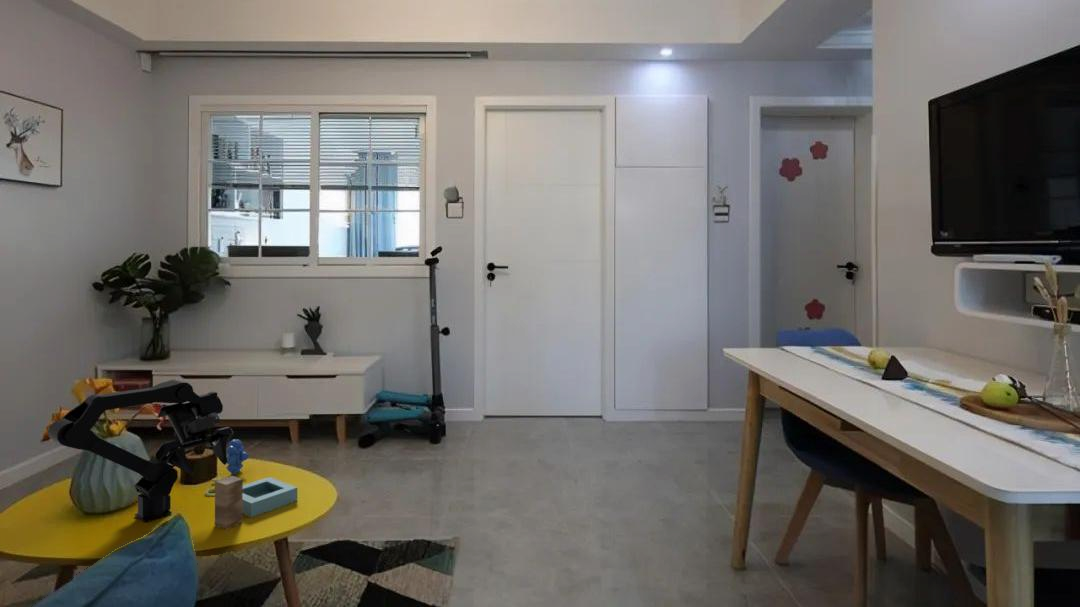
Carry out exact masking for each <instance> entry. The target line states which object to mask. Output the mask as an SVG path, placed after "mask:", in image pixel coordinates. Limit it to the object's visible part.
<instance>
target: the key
mask: <svg viewBox="0 0 1080 607" xmlns="http://www.w3.org/2000/svg"><path fill="white" fill-rule="evenodd" d="M220 479H223V476H218V477H215V478H212V479H211V482H212V483H213V482H215V481H217V480H220ZM214 491H215V487H213V488H209V489H207V490H205V493H204V495H205V497H210V496H213V497H215V492H214Z"/></svg>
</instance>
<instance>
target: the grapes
mask: <svg viewBox="0 0 1080 607" xmlns="http://www.w3.org/2000/svg"><path fill="white" fill-rule="evenodd" d="M226 454H227V464H226V465H227V466H226V467H225V468H226V470H227V471H228V472H229V473H230V474H231V475H237V474H238V473H239V472H240V470H241V469H242V468H243V467H244V465H243V462H244V461H247V459H248V458H249V457H250V455H249V454H248V452H246V451H245V447H244V445H243V442H242V441H241V440H240V439H238V438H237V439H232V440H231V441H230V442H228V447H226Z"/></svg>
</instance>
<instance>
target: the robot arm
mask: <svg viewBox="0 0 1080 607" xmlns="http://www.w3.org/2000/svg"><path fill="white" fill-rule="evenodd" d="M154 403H160V404H161V403H162V405H161V408H160V409H159V412H158V413H157V418H162V417H163V418H164V417H166V416H167V418H168V421H169V422H170V424H171V426H172V428H173V429H174V433H172V434H173V436H174V437H178V438H179V439H177V438H176V439H172V440H168V441H164V442H162V444H161V445H160V447H159V448H158V450H156V452H155V455H153V454H152V455H151V456H150V458H149V459H147V458H146V459H145V458H142V457H141V456H138V455H136V454H134V453H132V452H130V451H128V450H126V449H124V448H121V447H119V446H118V445H116V444H113V443H111V442H109V441H106V440H104V439H102V438H101V437H100V436H98V435H97V434H96V433H95V432H94V431H93V430H91V429H93V427H94V426H95V425H96V424H97V422H98V421H99V419H100V418H101V416H102V415H103V414H104V413H105V412H106V411H110V410H116V409H121V408H122V409H123V408H129V407H134V406H136V407H137V406H142V405H147V404H154ZM223 409H224V405H223V403H222V401H221V399H220V397H219V396H218V392H217V391H210V392H208V393H205V394H201V395H198V394H197V393H196V392H194V388H193V385H192V384H190V383H189V382H186V381H181V380H178V379H170V380H167V381H164V382H160V383H158V384H156V385H153V386H149V387H147V388H139V389H132V390H123V391H118V392H117V391H116V392H109V393H102V394H101V393H100V394H97V393H96V394H95V393H94V394H91V395H89V396H88V397H86V398H85V400H83V401H82V402H81V403H79V405H77V406H75V407H74V408H73V409H71V410H70V411H68V412H67V413H66V414H65V415H64V416H63V417H62V418H60V419H57V420H56V421H54V422H52V423H51V425H50V426H49V427H48V430H47V433H48V434H47V435H48V437H49V439H51V440H52V441H54V442H56V443H57V444H59V445H62V446H63V447H64V446H65V447H68V448H70V449H75V450H80V451H85V452H90V453H92V454H95V455H97V456H99V457H101V458H103V459H105V460H108V461H110V462H112V463H115V464H118V465H119V466H122V467H124V468H126V469H129V470H130V471H133V472H134V473H136V475H138V476H139V477H140V479H139V480H138V481H137V482H136V483H135V484H134V489H135V491H136V492H137V493H139V494H137V513H135V514H134V517H136V518H137V519H139V520H140V521H142V520H143V521H142V522H144V521H145V522H144V523H146V521H148V522H150V521H149V520H151V521H154V520H157V519H160V518H163V517H166V516H169V515H168V514H170V515H172V514H173V513H172V510H171V499H172V498H171V495H170V494H171V492H172V489H173V487H174V484H175V483H176V482H177V480H178V478H179V472H178V470H177V469H176V468H178V469H180V470H181V471H183V472H184V473H187V474H188V475H190V476H193V475H194V473H195V471H194V469H193V468H194V467H193V466H192V464H191V463H190V461H189V459H188V457H187V456H186V450H188V449H191V448H192V449H193V448H197V447H199V446H203V445H206V444H209V445H210V446H211V447H212V448H211V450H212V452H213V453H214V454H215V456H216V457H217V459H218V460H219V461H220V462H221V463H222V465H223V466H225V465H228V464H227V456H228V453H227V452H226V450H227V443H228V441H229V440H230V439H231V437H233V435H234V434H235V433H234V431H233V429H232V428H231V427H229V426H226V427H222V428H217V429H215V430H214V432H213V433H212V434H211V435H208V434H209V433H210V430H211V429H214V428H216V425H218V424H220V423H221V420H220V417H219V414H221V413H222V412H223ZM207 435H208V436H207ZM175 467H176V468H175Z"/></svg>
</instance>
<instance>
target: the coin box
mask: <svg viewBox="0 0 1080 607" xmlns="http://www.w3.org/2000/svg"><path fill="white" fill-rule="evenodd" d="M294 501H295V502H298V487H297V486H296V485H295V486H294V485H291V484H290V483H286V482H285V481H281V480H279V479H276V478H274V477H271V476H269V477H266V478H265V477H264V478H262V479H259V480H256V481H252V482H248V483H246V484H243V491H242V513H243V514H242V515H245V514H246V515H245V516H247V517H249V516H250V517H249V518H253V516H254V517H257V516H259V514H260V515H262V514H265V513H269V512H270V511H273V510H276V509H278V508H283V507H284V506H287V505H289V503H290V504H293V503H295V502H294ZM264 512H265V513H264ZM256 515H257V516H256Z"/></svg>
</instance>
